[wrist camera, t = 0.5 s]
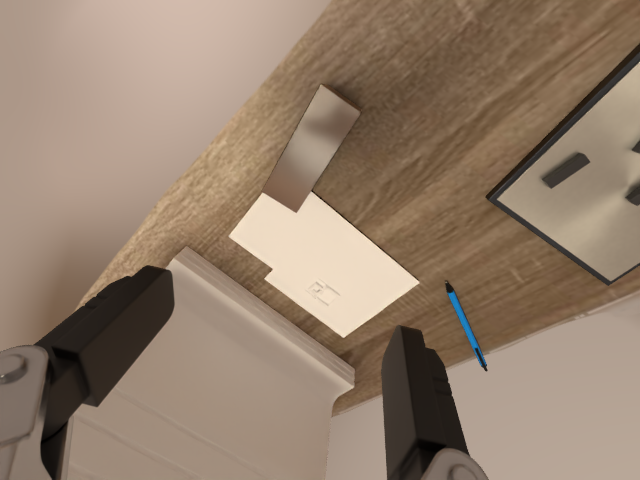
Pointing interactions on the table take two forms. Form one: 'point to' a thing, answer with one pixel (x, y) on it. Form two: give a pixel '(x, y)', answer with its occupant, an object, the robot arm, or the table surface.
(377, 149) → the table surface
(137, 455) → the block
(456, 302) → the pen
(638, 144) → the stroke
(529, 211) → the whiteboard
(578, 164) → the stroke
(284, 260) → the paper
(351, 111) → the eraser
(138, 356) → the robot arm
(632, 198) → the stroke
